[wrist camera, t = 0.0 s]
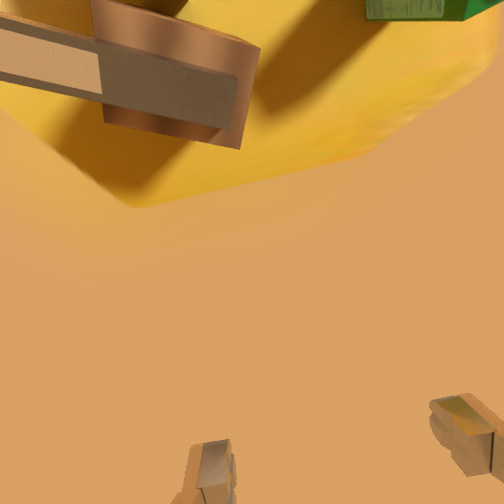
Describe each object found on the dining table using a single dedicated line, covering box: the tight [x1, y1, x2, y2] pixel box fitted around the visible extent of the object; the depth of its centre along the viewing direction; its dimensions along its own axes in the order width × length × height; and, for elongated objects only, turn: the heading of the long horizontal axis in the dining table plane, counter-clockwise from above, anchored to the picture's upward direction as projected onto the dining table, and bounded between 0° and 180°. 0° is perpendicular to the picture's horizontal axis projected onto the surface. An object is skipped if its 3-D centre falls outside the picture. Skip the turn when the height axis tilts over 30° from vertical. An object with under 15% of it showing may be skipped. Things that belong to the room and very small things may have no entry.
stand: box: [90, 0, 261, 150], centre depth 36 cm, size 15×10×25 cm, turn 76°
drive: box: [0, 12, 238, 130], centre depth 24 cm, size 22×4×3 cm, turn 76°
